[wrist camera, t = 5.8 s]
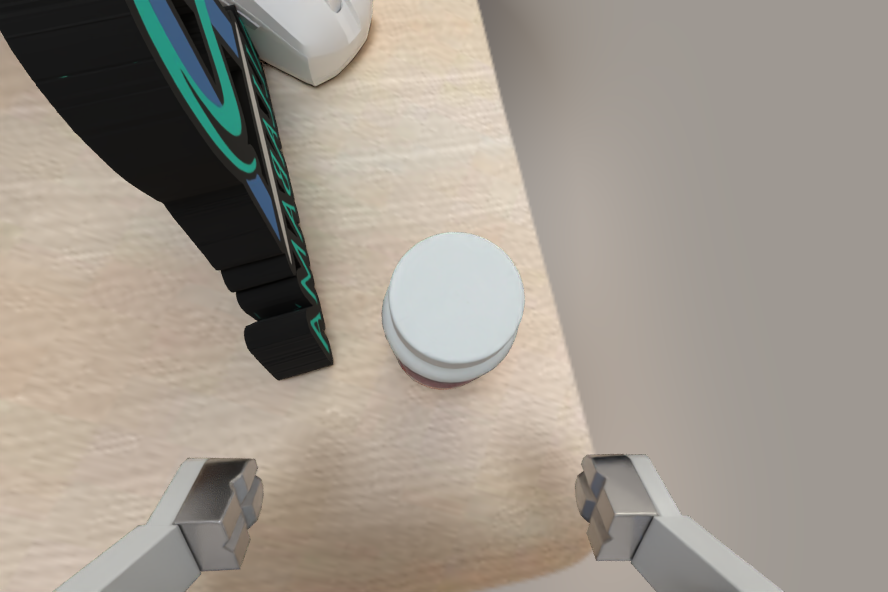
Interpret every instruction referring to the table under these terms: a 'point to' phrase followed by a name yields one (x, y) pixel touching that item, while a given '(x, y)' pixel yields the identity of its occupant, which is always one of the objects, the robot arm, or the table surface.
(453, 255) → the pill bottle
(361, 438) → the table surface
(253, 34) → the computer mouse
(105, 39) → the decorative sign
